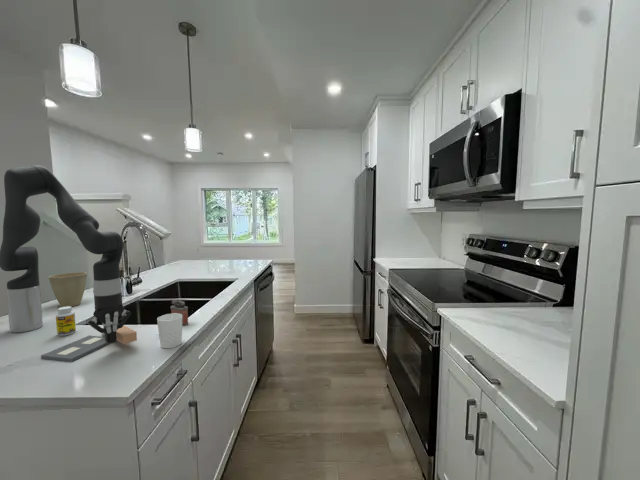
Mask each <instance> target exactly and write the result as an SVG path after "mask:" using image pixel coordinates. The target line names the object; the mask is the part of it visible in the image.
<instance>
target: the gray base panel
mask: <svg viewBox="0 0 640 480" xmlns="http://www.w3.org/2000/svg"><path fill="white" fill-rule="evenodd" d="M115 342H117V340H115ZM108 345H110V344H109V343H108V342H106V341H105V334H104V333H101V336H99V335H87V336H84V337H82V338H80V339H77V340H74V341H72V342H70V343H67V344H65V345H63V346H61V347H58V348H56V349H53V350H51V351H48V352H46V353H43V354H41V355H40V359H42V360H44V359H45V360H52V361H61V362H70V363H73V362H74V361H75V362H76V360H79V359H80V358H83V357H86V356H87V355H89V354H91V353H93V352H95V351H97V350H100V349H102V348H104V347H107V346H108Z"/></svg>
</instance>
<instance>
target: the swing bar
mask: <svg viewBox="0 0 640 480" xmlns="http://www.w3.org/2000/svg"><path fill="white" fill-rule="evenodd" d="M102 328H104V327H102ZM104 334H105V333H104ZM116 336H117V339H116V341H117V342H119V343H121V344H123V345H126V344H130V343H133V342H136V341H138V337H137V331H135V330H134V329H131V328H130V327H128V326H126V325H125V324H124V325H123V327H122V328H119V329H117V331H116Z"/></svg>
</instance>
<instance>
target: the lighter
mask: <svg viewBox="0 0 640 480" xmlns="http://www.w3.org/2000/svg"><path fill="white" fill-rule="evenodd" d="M171 304H172V305H171V306H170V310H171V311H170V312H171V313H170V314H173V313H178V314H182V327H187V326H189V325H188V324H189V315H188V311H189V310H188V309H189V306H186V303H185V301H183V300H171ZM186 325H187V326H186Z"/></svg>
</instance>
